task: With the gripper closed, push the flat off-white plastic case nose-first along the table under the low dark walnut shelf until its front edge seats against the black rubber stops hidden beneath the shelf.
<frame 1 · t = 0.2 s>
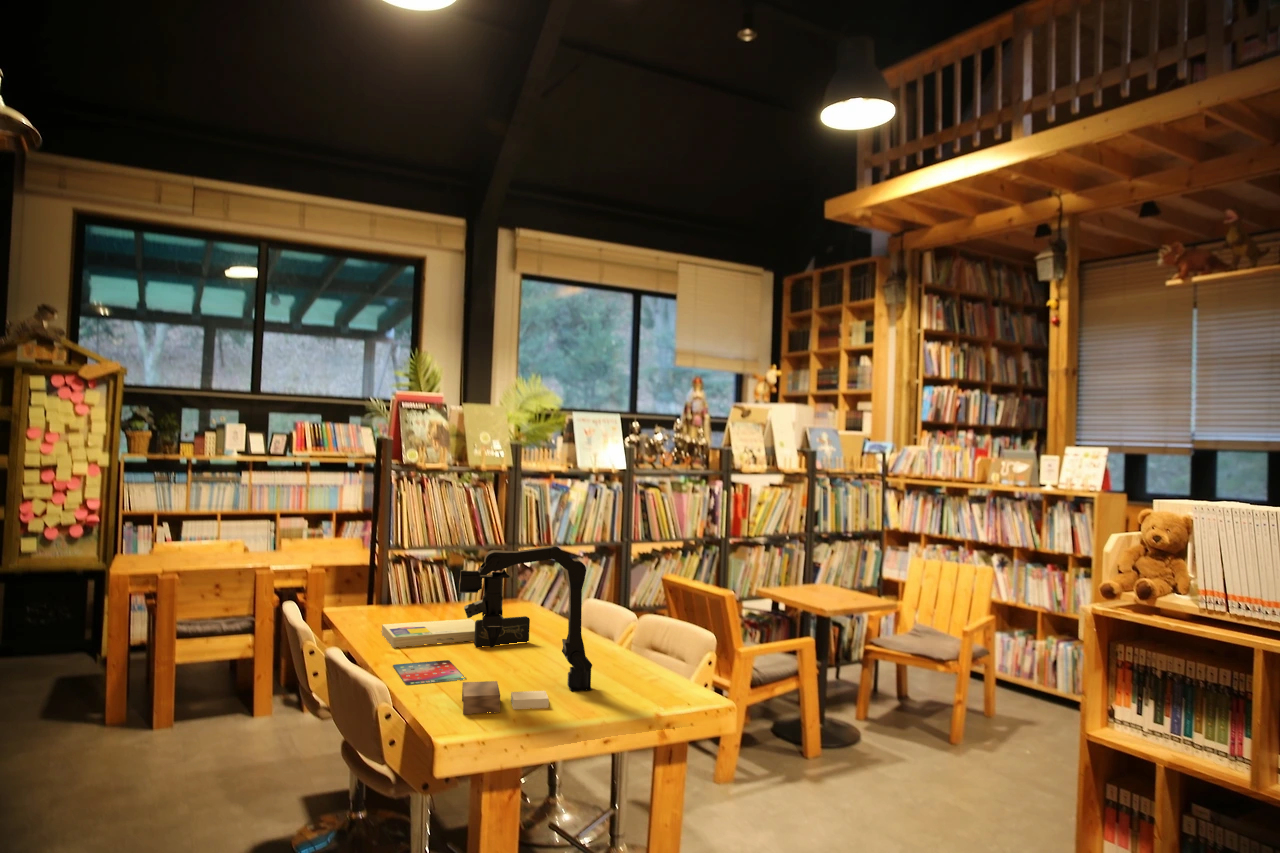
hand: (491, 644, 250), 14 cm above the table, tool pointing down, fingers open, 9 cm apart
nameplate: (501, 645, 310), on the table
case: (529, 705, 238), on the table
walnut shelf: (480, 706, 235), on the table
puzzle box: (433, 639, 318), on the table
tablet: (428, 674, 269), on the table
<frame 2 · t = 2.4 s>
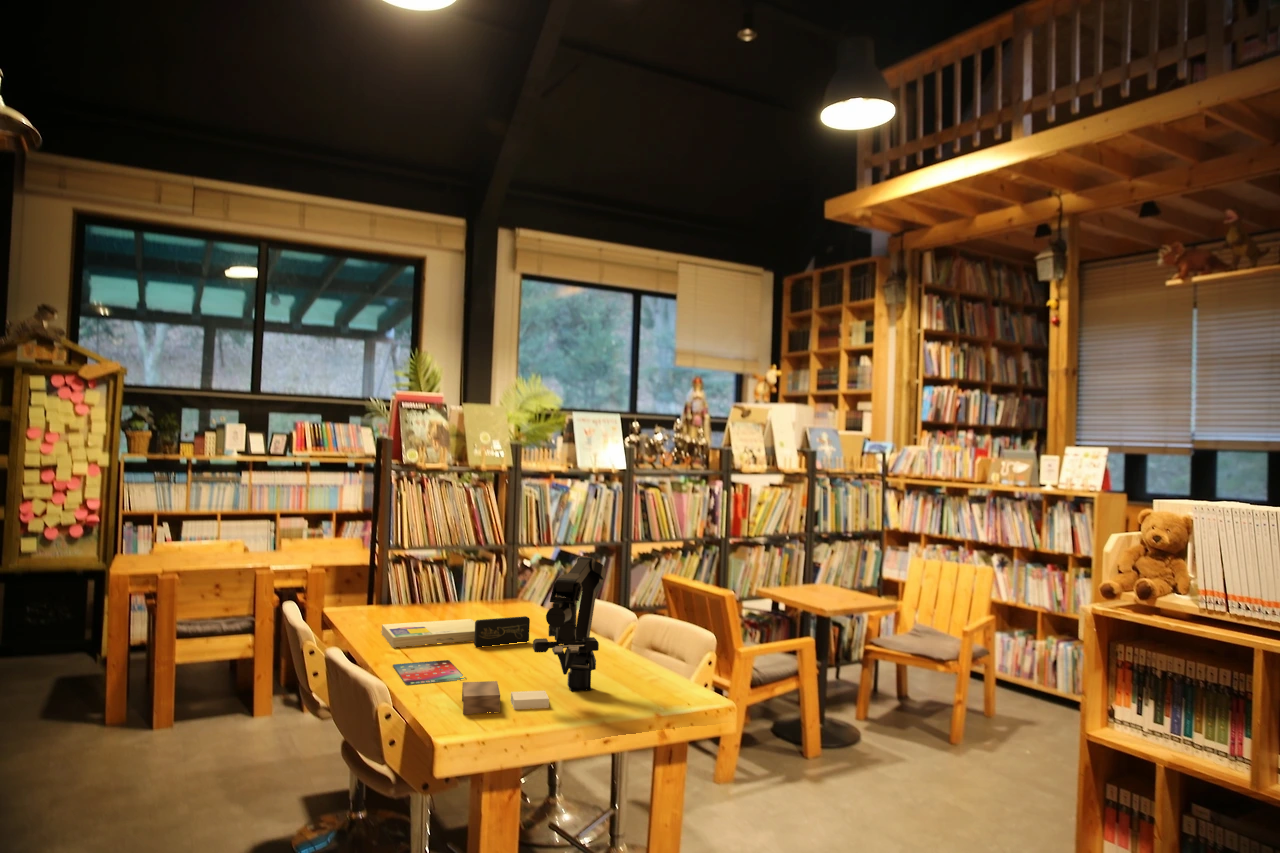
hand: (564, 674, 241), 8 cm above the table, tool pointing down, fingers closed
nothing on the table moved.
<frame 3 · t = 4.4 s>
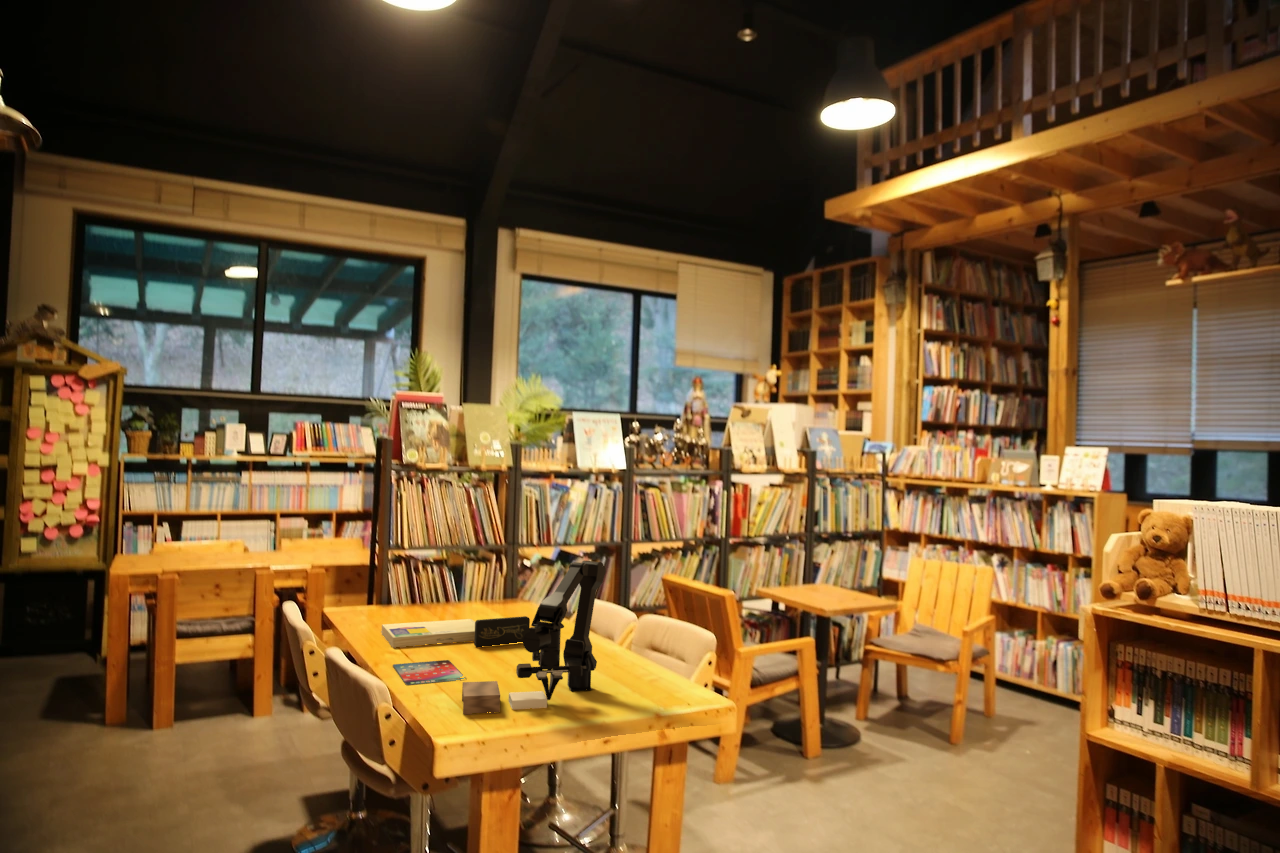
hand: (548, 699, 239), 1 cm above the table, tool pointing down, fingers closed
case: (527, 706, 238), on the table, touching gripper
everything else where it was.
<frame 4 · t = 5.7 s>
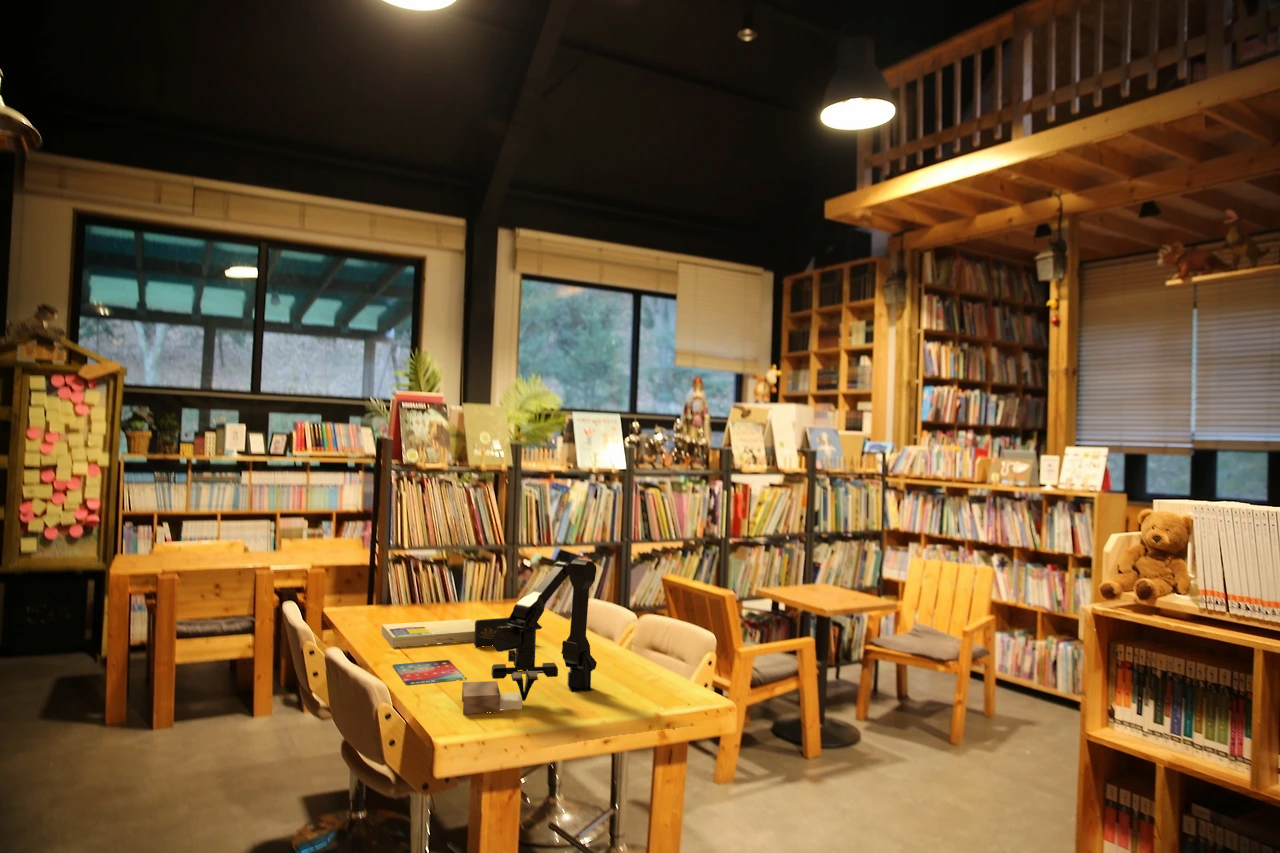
hand: (523, 700, 238), 1 cm above the table, tool pointing down, fingers closed
case: (502, 707, 236), on the table, touching gripper
everything else where it was.
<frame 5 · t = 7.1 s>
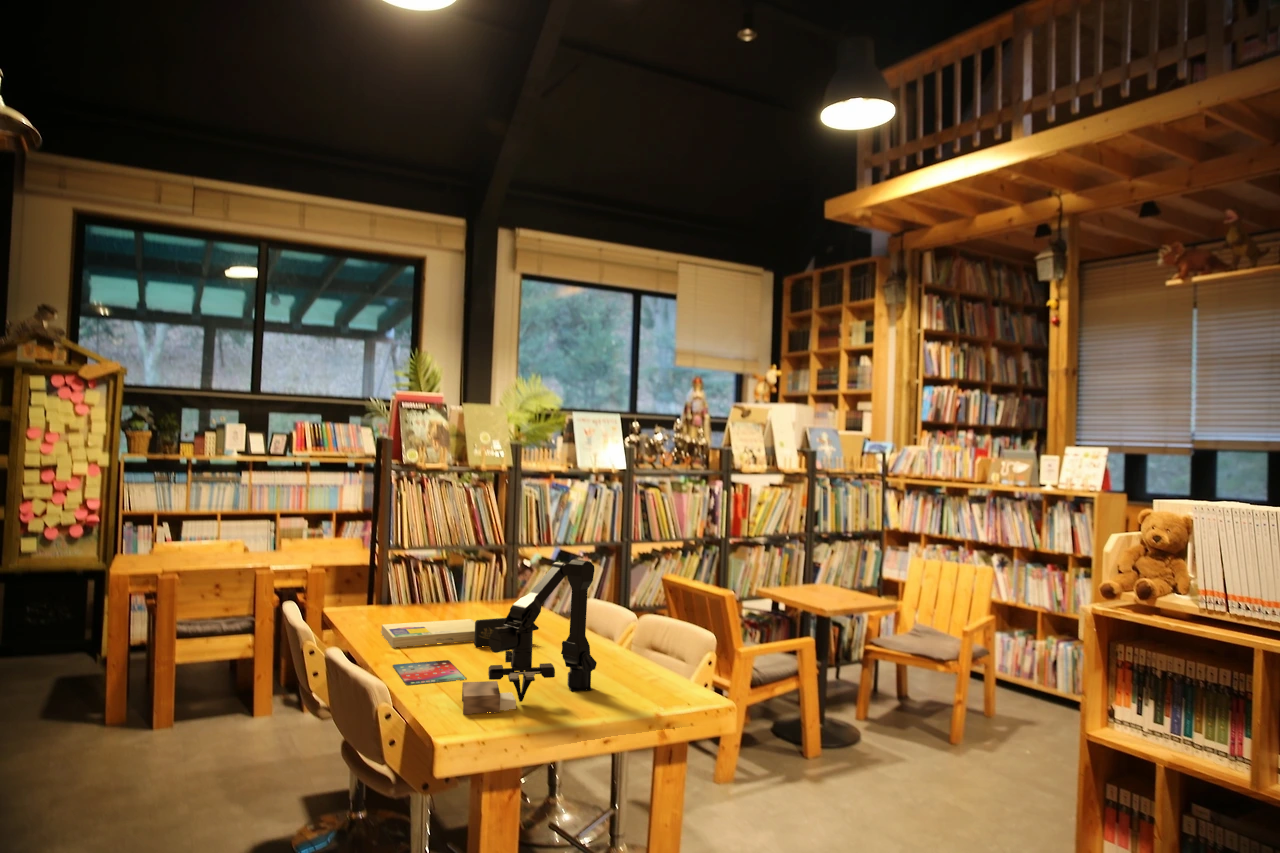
hand: (520, 701, 238), 1 cm above the table, tool pointing down, fingers closed
case: (496, 708, 235), on the table
everything else where it was.
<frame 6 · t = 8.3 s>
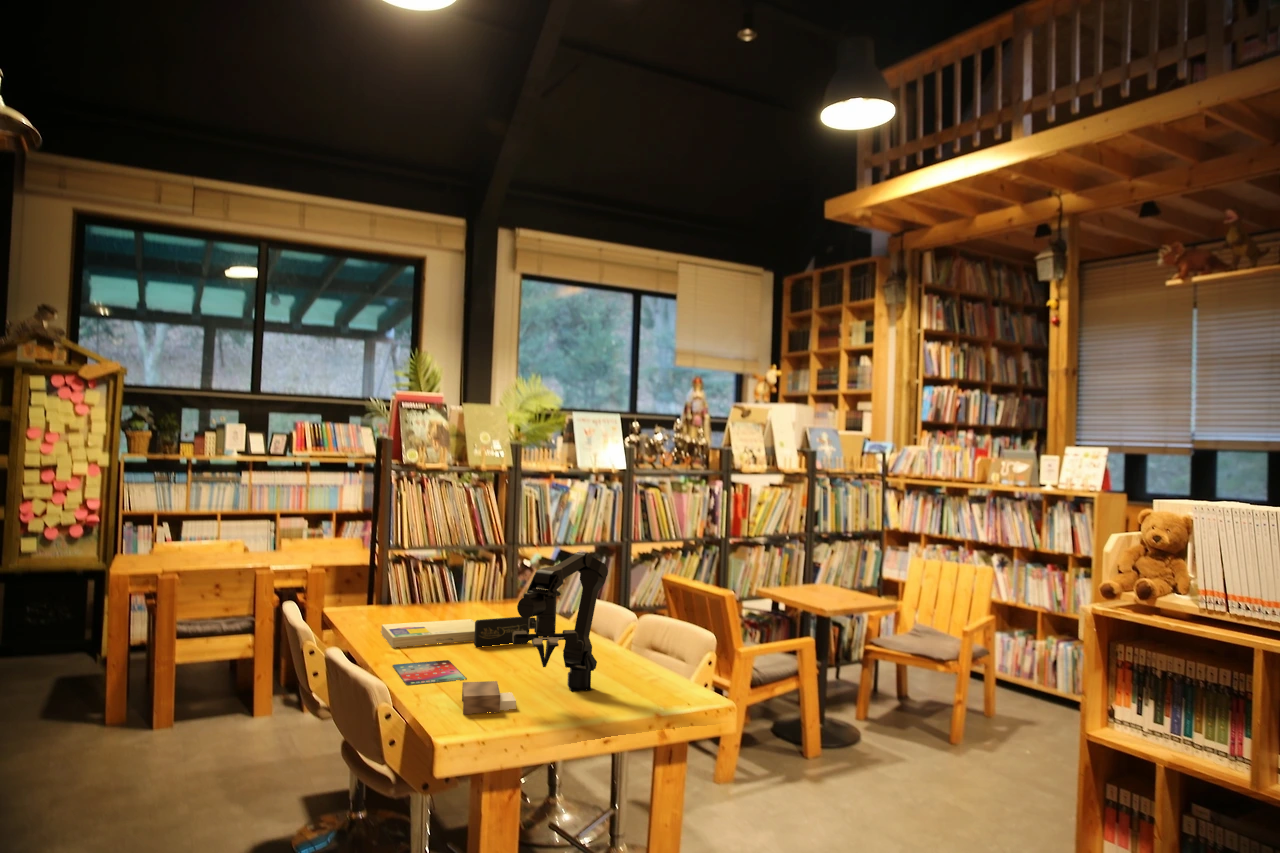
hand: (544, 666, 239), 11 cm above the table, tool pointing down, fingers closed
nothing on the table moved.
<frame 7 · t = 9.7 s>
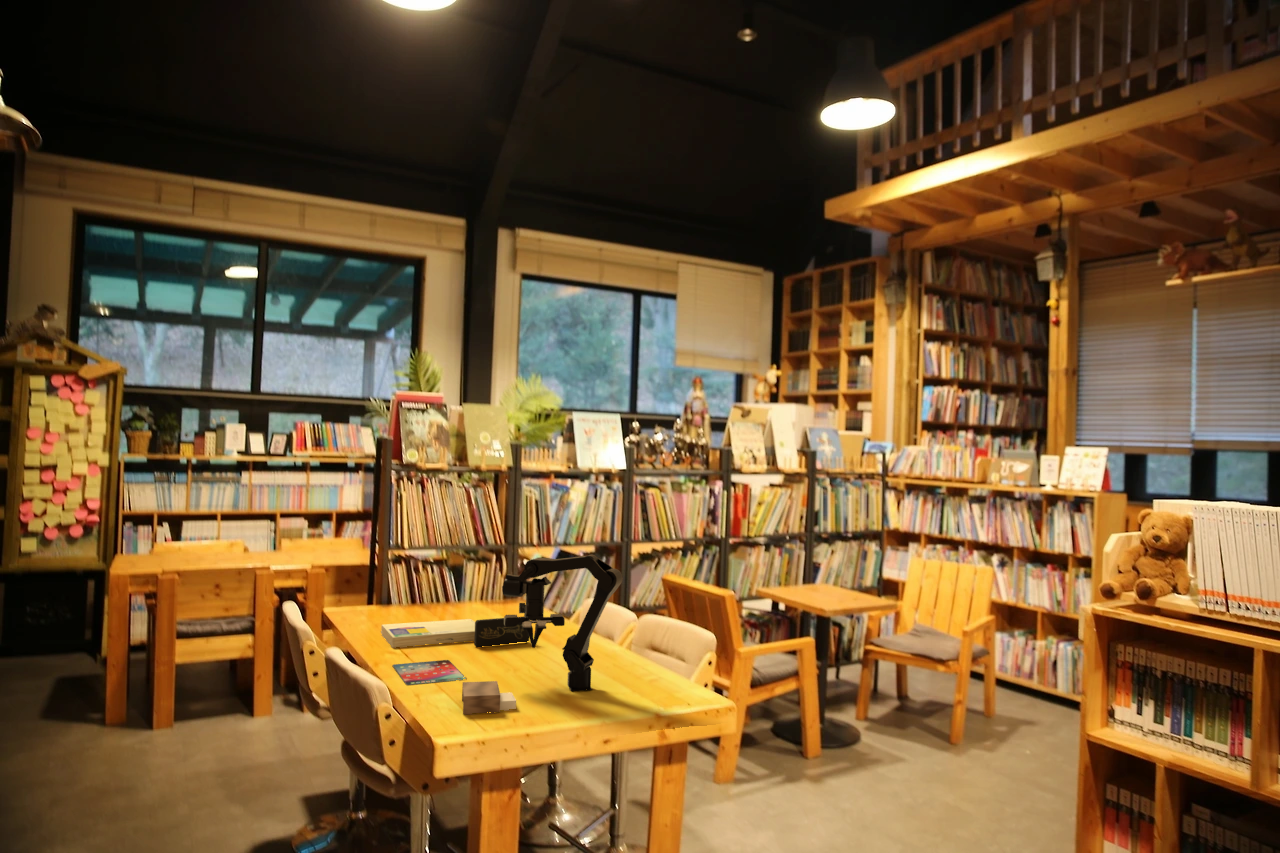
hand: (533, 647, 261), 11 cm above the table, tool pointing down, fingers closed
nothing on the table moved.
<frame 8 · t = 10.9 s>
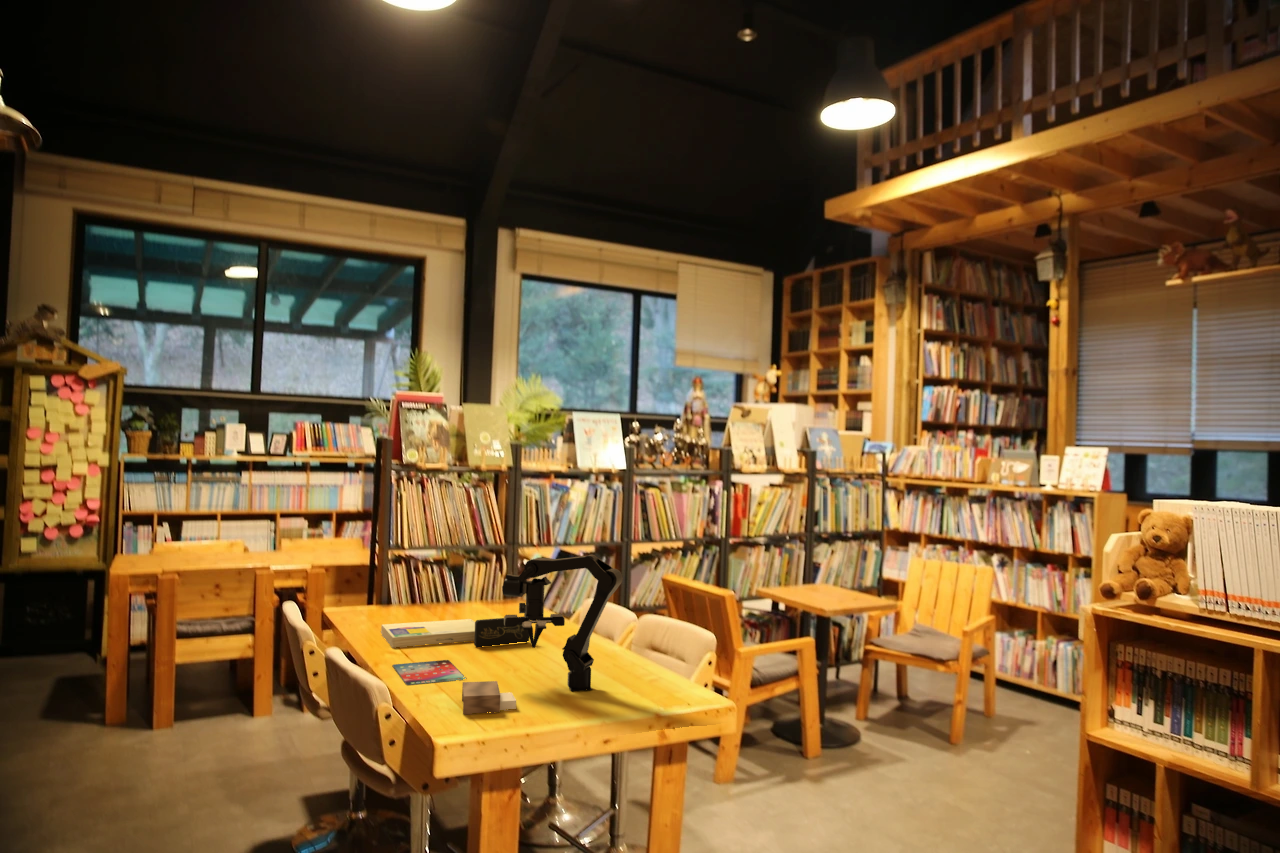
hand: (533, 647, 261), 11 cm above the table, tool pointing down, fingers closed
nothing on the table moved.
at the end: case 1.0 cm from the target spot, on the table; case tilted 0° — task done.
